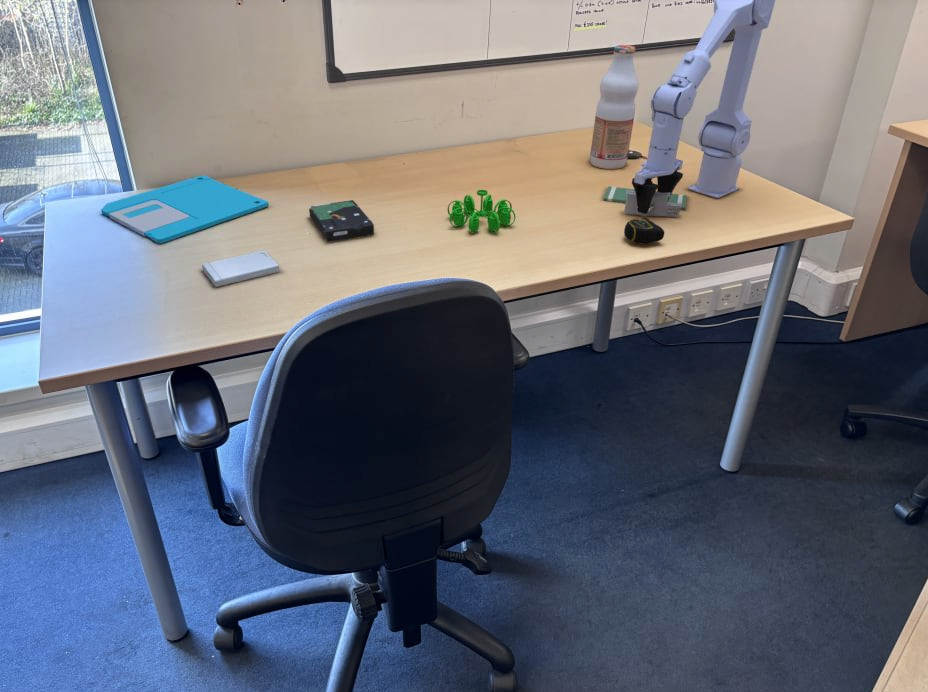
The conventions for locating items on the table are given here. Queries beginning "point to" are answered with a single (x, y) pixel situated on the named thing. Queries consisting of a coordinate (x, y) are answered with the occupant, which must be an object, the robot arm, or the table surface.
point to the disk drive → (341, 221)
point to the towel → (620, 193)
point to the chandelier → (481, 213)
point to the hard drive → (240, 268)
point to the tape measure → (643, 231)
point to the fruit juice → (615, 111)
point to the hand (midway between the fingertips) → (651, 208)
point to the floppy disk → (181, 208)
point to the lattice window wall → (659, 207)
